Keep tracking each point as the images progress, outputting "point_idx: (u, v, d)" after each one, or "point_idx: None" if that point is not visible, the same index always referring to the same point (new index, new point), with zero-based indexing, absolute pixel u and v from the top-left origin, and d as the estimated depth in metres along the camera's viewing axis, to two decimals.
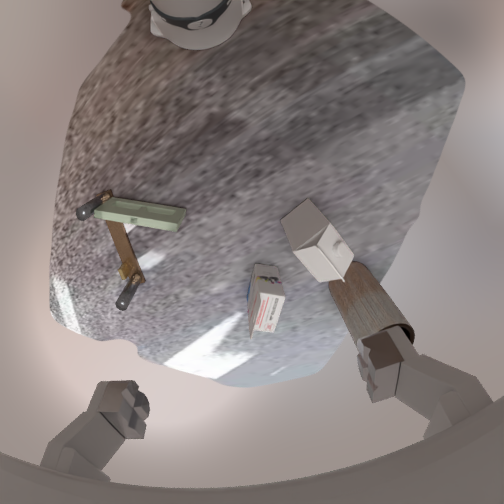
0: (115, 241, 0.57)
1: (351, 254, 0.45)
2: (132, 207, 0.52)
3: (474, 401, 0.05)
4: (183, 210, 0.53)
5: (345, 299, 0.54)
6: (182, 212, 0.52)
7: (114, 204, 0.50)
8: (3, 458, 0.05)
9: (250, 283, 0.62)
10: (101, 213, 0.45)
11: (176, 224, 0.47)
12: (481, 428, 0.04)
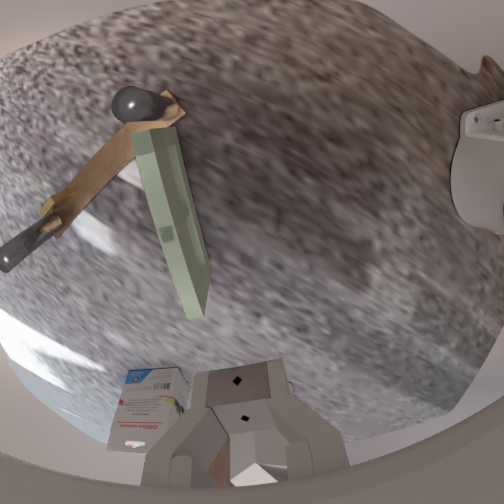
0: (93, 161, 0.27)
1: None
2: (175, 183, 0.26)
3: (326, 459, 0.05)
4: (209, 271, 0.30)
5: (211, 474, 0.37)
6: (209, 278, 0.29)
7: None
8: (2, 458, 0.05)
9: (149, 372, 0.39)
10: (146, 150, 0.18)
11: (201, 315, 0.24)
12: (481, 428, 0.04)
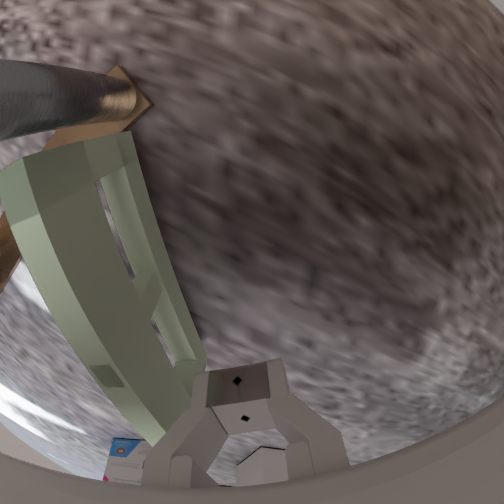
0: None
1: None
2: (132, 238, 0.14)
3: (325, 459, 0.05)
4: (203, 364, 0.18)
5: None
6: None
7: None
8: (3, 458, 0.05)
9: (137, 444, 0.28)
10: (25, 210, 0.06)
11: None
12: (481, 428, 0.04)
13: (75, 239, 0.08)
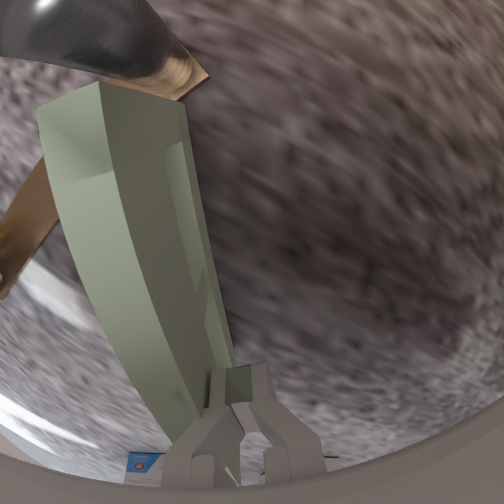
0: (35, 177, 0.13)
1: None
2: (180, 229, 0.12)
3: (303, 465, 0.05)
4: None
5: None
6: None
7: None
8: (3, 458, 0.05)
9: (157, 459, 0.25)
10: (86, 165, 0.04)
11: None
12: (481, 428, 0.04)
13: (149, 219, 0.06)
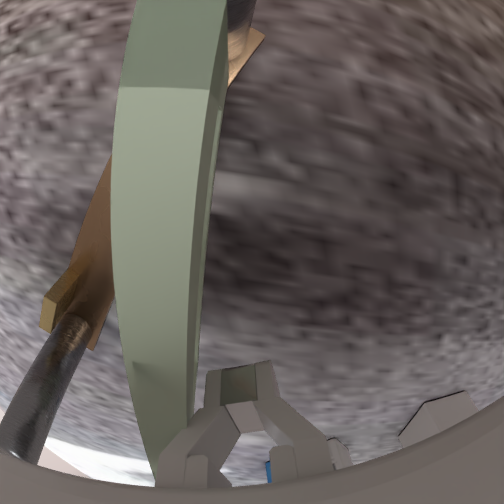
0: (101, 194, 0.13)
1: None
2: None
3: (309, 463, 0.05)
4: (197, 367, 0.16)
5: None
6: None
7: None
8: (3, 458, 0.05)
9: None
10: (177, 73, 0.04)
11: None
12: (481, 428, 0.04)
13: (205, 163, 0.05)
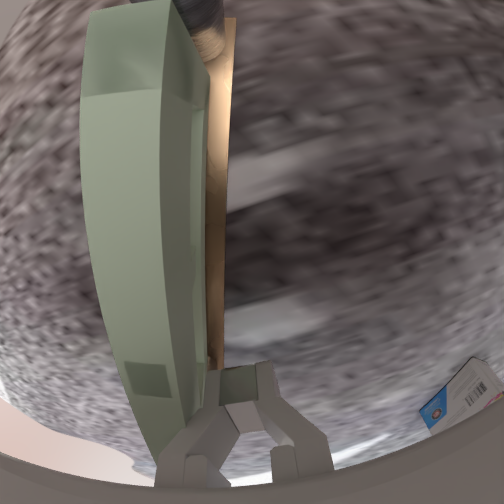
0: None
1: None
2: None
3: (310, 463, 0.05)
4: (206, 368, 0.16)
5: None
6: None
7: None
8: (3, 458, 0.05)
9: (446, 392, 0.23)
10: (130, 77, 0.04)
11: None
12: (481, 428, 0.04)
13: (174, 161, 0.05)
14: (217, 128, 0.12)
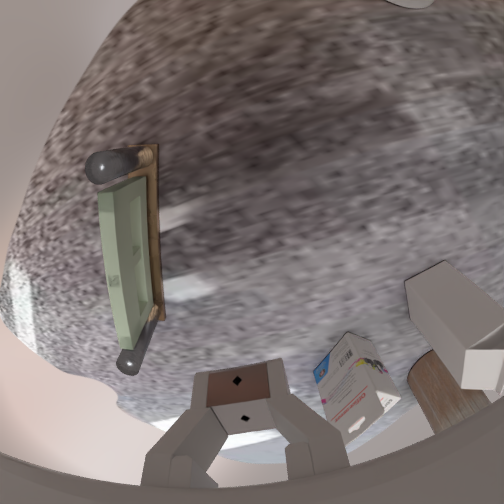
0: None
1: None
2: (134, 229, 0.28)
3: (325, 459, 0.05)
4: (150, 307, 0.33)
5: (446, 399, 0.32)
6: (148, 313, 0.31)
7: None
8: (3, 458, 0.05)
9: (329, 357, 0.39)
10: (108, 209, 0.21)
11: (131, 348, 0.26)
12: (481, 428, 0.04)
13: (120, 224, 0.23)
14: (151, 197, 0.30)
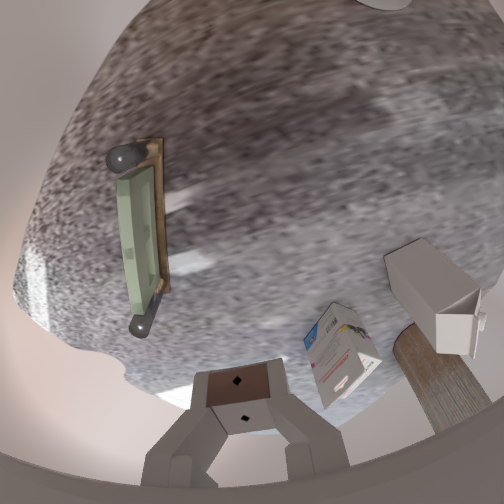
0: None
1: None
2: (144, 211, 0.33)
3: (325, 460, 0.05)
4: (157, 280, 0.38)
5: (428, 367, 0.38)
6: (155, 285, 0.37)
7: None
8: (3, 458, 0.05)
9: (317, 326, 0.44)
10: (125, 193, 0.26)
11: (142, 313, 0.31)
12: (481, 428, 0.04)
13: (134, 205, 0.27)
14: (158, 183, 0.34)
